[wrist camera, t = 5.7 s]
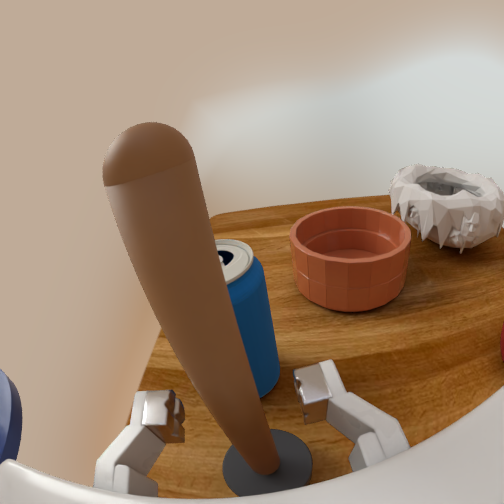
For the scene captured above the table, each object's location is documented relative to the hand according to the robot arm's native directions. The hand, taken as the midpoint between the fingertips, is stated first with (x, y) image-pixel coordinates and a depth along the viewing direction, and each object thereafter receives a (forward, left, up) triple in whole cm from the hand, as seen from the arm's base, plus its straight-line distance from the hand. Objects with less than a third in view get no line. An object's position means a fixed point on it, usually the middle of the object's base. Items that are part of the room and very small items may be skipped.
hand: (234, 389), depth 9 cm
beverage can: (+2, +8, -11) cm, 14 cm away
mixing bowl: (+19, +14, -11) cm, 26 cm away
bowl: (+39, +11, -11) cm, 42 cm away
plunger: (0, -1, -11) cm, 11 cm away
